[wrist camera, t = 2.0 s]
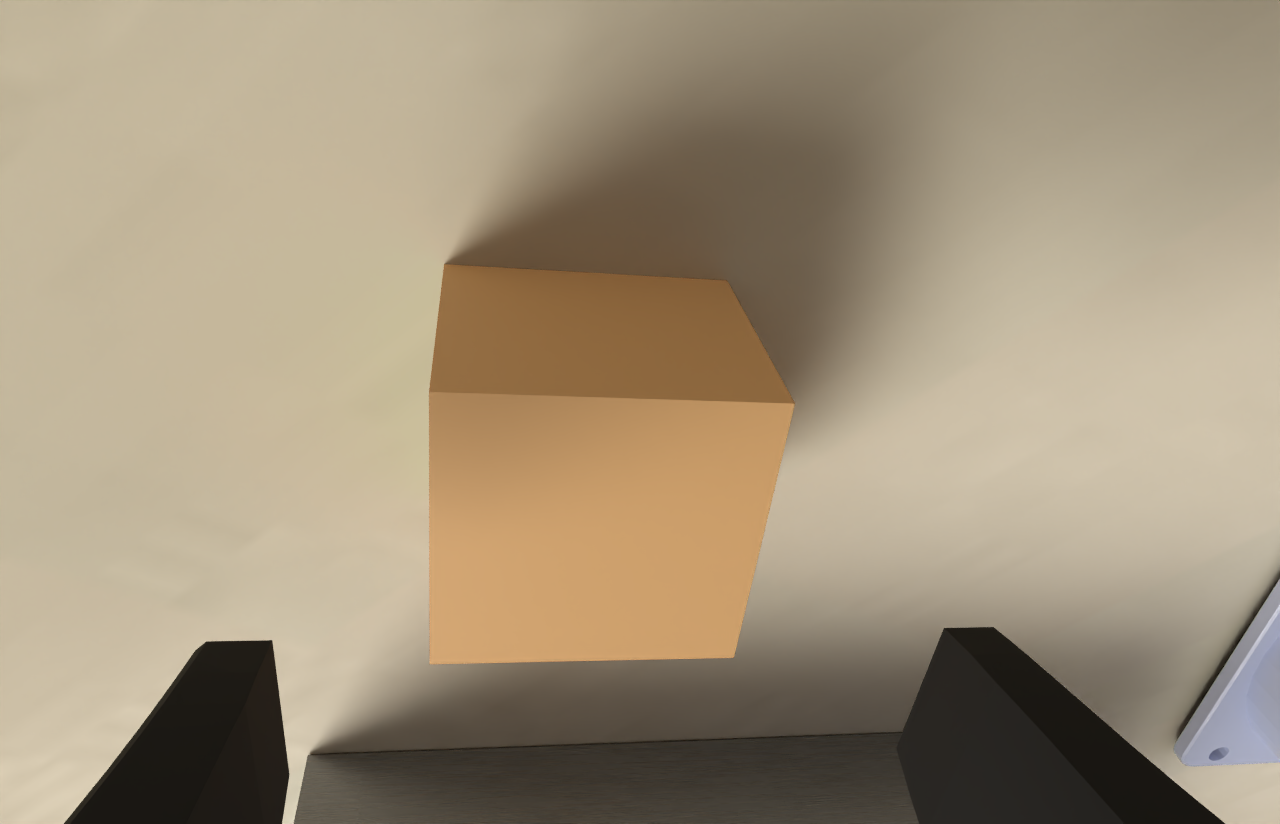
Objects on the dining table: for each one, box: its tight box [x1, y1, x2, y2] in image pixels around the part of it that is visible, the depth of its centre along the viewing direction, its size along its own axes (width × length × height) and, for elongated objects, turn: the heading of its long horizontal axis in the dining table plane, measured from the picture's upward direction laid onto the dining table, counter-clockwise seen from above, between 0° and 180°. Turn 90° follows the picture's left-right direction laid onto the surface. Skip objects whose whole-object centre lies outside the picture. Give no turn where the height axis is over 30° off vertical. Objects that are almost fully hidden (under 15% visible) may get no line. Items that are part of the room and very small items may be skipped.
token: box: [429, 264, 795, 664], centre depth 14 cm, size 4×4×4 cm
